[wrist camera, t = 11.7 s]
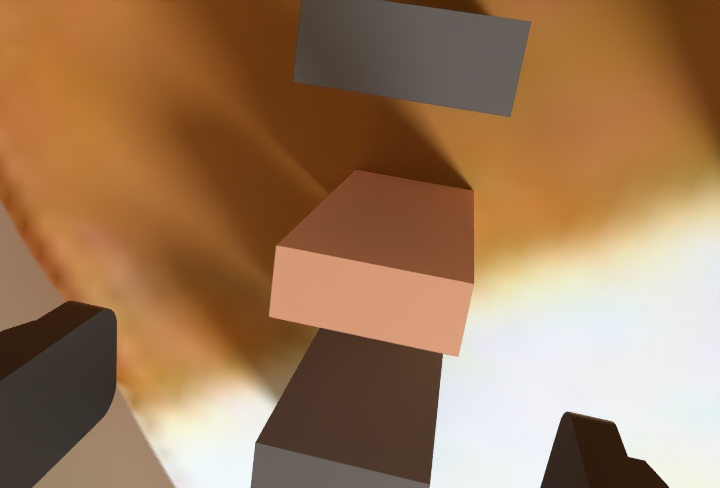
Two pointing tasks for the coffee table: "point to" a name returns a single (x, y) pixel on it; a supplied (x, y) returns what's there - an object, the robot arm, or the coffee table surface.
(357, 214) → the domino
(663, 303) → the coffee table surface
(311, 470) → the domino
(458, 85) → the domino
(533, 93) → the coffee table surface
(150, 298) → the coffee table surface
